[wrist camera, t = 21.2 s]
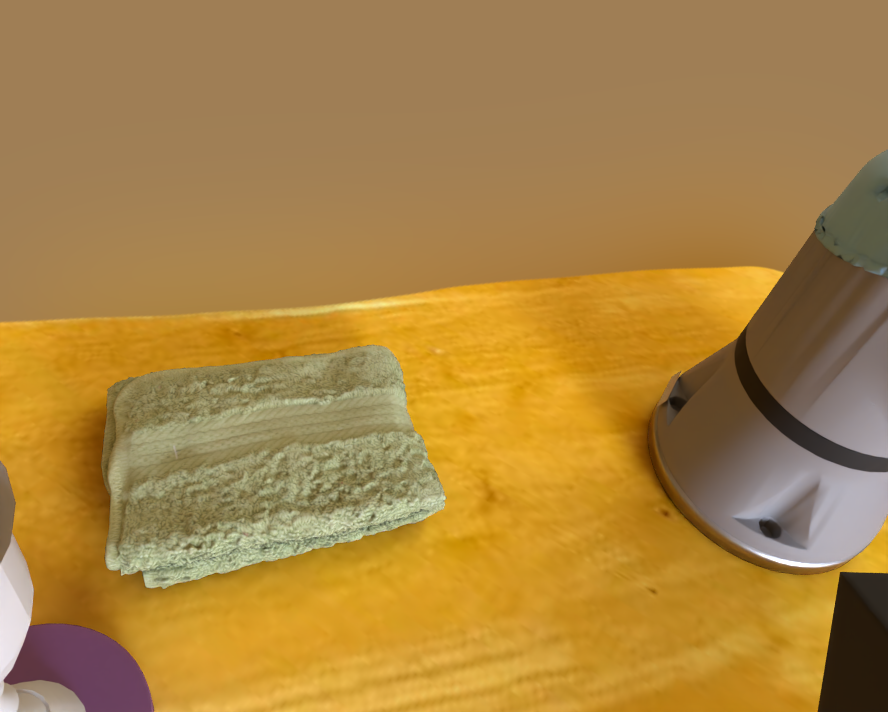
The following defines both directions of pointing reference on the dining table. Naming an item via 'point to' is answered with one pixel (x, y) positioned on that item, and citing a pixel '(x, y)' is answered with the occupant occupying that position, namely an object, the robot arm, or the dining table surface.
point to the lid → (83, 667)
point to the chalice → (21, 622)
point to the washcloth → (259, 462)
